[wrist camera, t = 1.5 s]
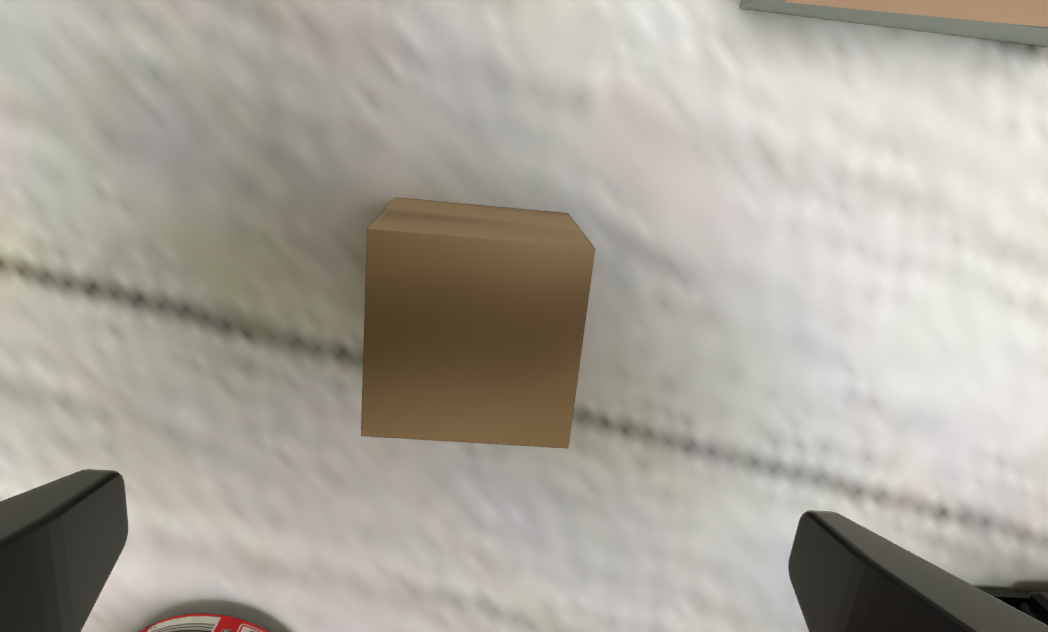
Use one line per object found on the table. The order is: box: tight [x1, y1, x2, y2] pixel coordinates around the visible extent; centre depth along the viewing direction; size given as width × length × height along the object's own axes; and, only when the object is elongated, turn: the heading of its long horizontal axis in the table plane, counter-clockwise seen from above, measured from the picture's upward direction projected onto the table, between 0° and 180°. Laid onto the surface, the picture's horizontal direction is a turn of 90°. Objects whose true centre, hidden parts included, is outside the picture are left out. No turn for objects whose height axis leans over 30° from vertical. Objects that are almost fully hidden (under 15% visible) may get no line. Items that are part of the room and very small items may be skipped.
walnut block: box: [361, 197, 595, 448], centre depth 18 cm, size 5×5×5 cm
